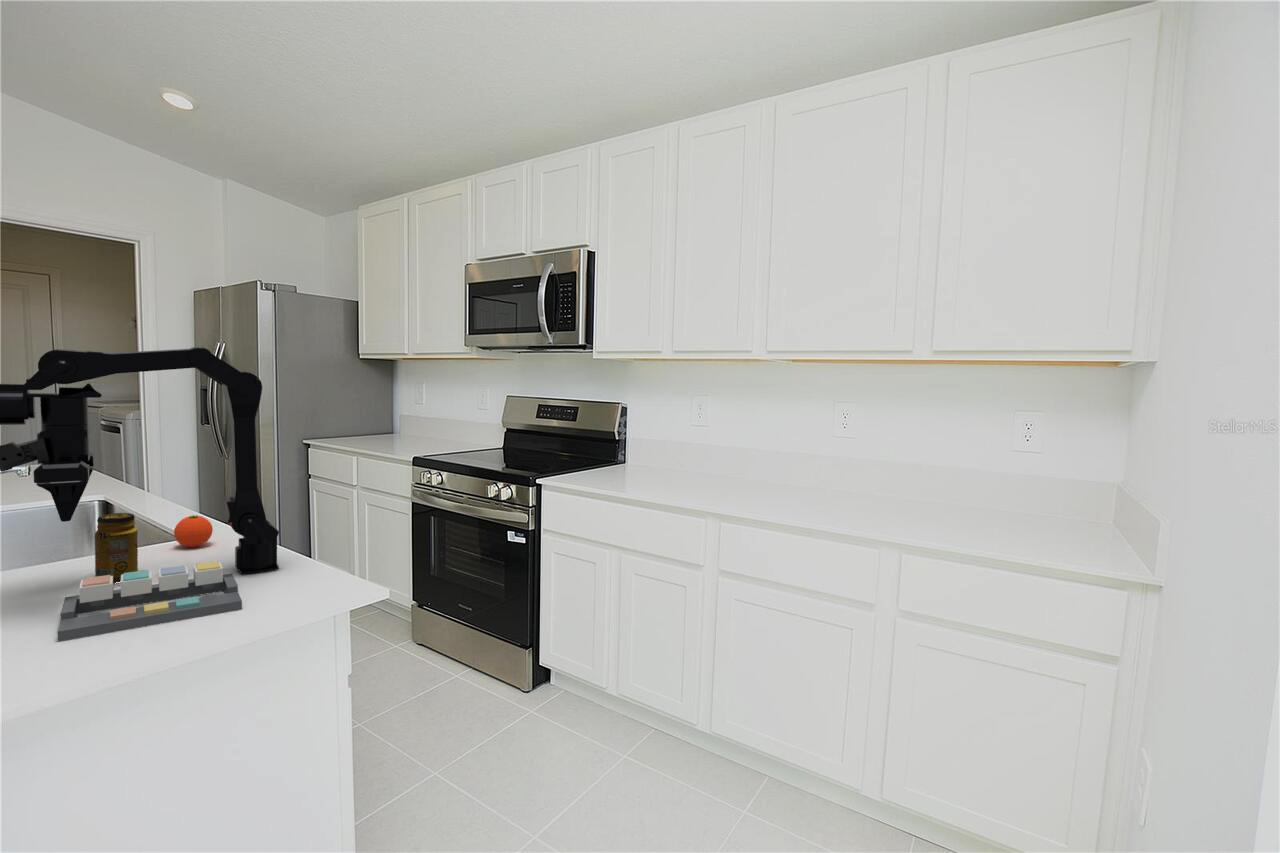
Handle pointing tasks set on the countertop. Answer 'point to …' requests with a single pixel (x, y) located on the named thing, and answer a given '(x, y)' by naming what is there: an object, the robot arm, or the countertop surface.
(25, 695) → the countertop surface
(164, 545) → the countertop surface
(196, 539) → the clementine
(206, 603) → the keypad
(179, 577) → the key slate
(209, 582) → the key mustard
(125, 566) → the condiment
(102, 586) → the block
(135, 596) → the key teal
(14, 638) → the countertop surface
